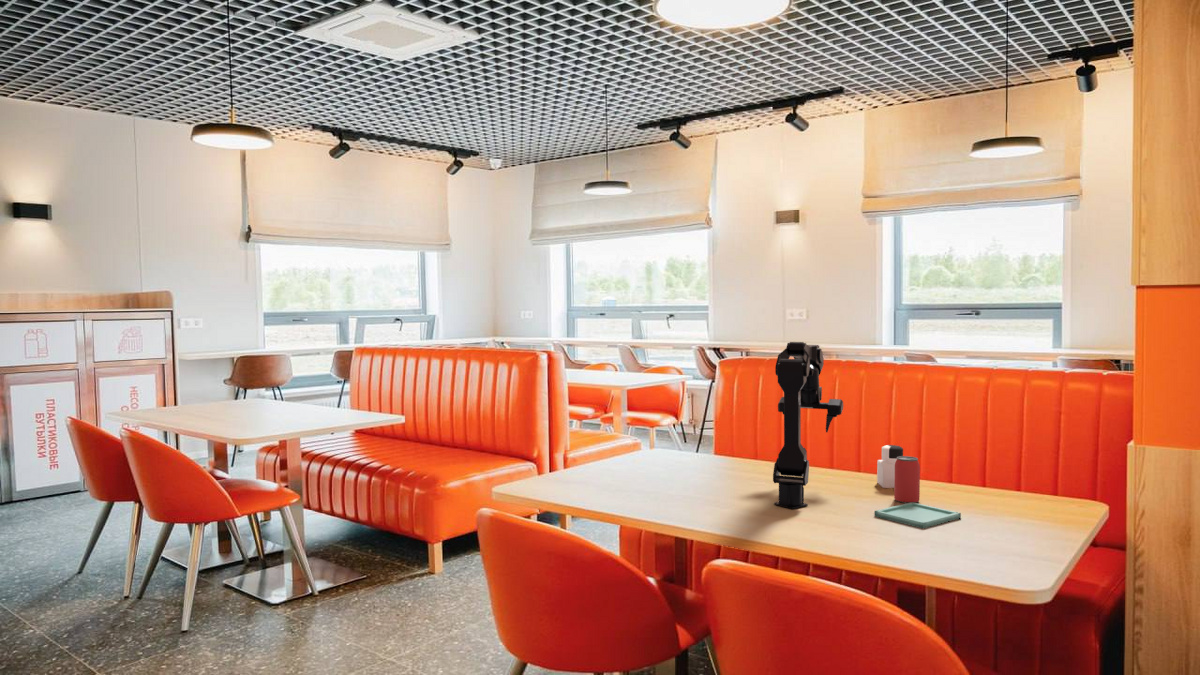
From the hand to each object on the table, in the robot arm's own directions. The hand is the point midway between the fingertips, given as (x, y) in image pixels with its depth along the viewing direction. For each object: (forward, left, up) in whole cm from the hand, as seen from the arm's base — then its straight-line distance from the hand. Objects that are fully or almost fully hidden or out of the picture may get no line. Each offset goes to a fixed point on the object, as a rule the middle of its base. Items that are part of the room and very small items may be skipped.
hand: (811, 431), depth 251 cm
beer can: (+2, -32, -16) cm, 36 cm away
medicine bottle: (+15, -18, -16) cm, 28 cm away
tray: (-11, -44, -15) cm, 48 cm away
